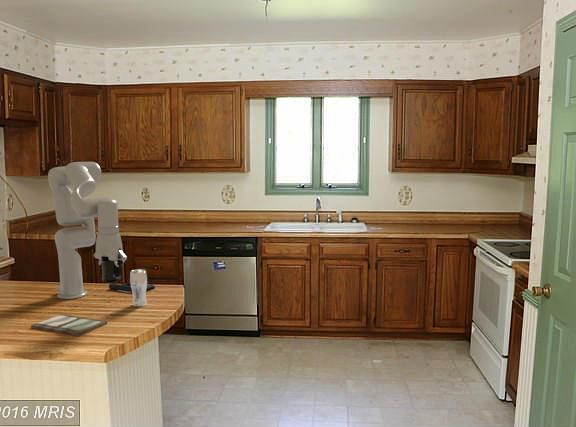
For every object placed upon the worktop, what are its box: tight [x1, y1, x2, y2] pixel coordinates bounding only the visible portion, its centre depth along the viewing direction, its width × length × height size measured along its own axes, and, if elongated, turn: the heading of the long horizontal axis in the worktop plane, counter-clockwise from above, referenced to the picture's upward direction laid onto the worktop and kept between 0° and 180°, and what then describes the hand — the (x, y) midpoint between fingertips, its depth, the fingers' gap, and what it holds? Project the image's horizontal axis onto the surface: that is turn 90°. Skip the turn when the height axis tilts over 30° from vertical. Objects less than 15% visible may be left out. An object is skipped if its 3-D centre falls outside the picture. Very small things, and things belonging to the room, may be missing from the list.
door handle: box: [108, 282, 156, 294], centre depth 238 cm, size 3×20×16 cm
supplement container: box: [101, 256, 121, 283], centre depth 193 cm, size 7×7×10 cm
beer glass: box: [129, 268, 148, 308], centre depth 211 cm, size 7×7×15 cm
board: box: [30, 313, 108, 337], centre depth 186 cm, size 24×14×1 cm, turn 67°
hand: (111, 274), depth 194 cm, fingers closed on supplement container, 6 cm apart
